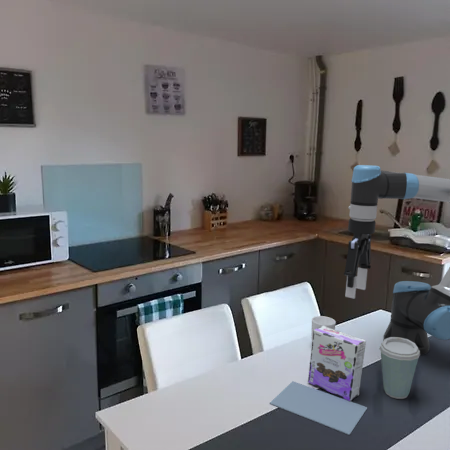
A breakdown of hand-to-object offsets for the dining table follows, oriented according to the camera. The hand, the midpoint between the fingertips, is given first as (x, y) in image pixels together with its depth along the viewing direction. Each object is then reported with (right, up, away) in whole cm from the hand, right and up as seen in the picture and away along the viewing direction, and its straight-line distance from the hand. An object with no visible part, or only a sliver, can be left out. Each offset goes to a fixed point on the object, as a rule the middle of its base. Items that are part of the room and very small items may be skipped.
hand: (355, 292), depth 137 cm
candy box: (-8, -27, -6) cm, 29 cm away
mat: (-14, -28, -14) cm, 35 cm away
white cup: (-6, -22, +20) cm, 30 cm away
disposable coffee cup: (+9, -28, -7) cm, 30 cm away
